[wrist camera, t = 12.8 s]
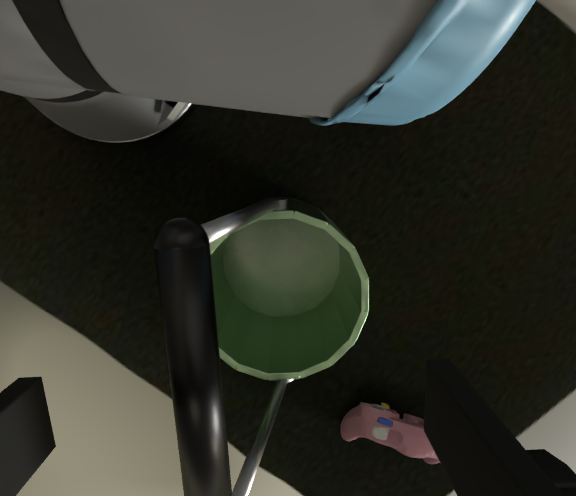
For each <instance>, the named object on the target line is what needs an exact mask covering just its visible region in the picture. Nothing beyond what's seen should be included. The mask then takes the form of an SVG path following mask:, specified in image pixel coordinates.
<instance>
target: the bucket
mask: <svg viewBox="0 0 576 496" xmlns="http://www.w3.org/2000/svg"><path fill="white" fill-rule="evenodd" d="M154 252H155V260H156V268H157V277H158V285H159V293H160V301H161V309H162V317H163V326H164V334H165V342H166V350H167V358H168V367H169V375H170V383H171V391H172V399H173V407H174V416H175V423H176V431H177V440H178V449H179V457H180V463H181V464H180V465H181V473H182V481H183V490H184V496H248V494H249V491H250V489H251V486H252V483H253V480H254V477H255V474H256V472H257V469H258V466H259V463H260V460H261V457H262V454H263V451H264V449H265V446H266V443H267V440H268V437H269V434H270V431H271V428H272V426H273V423H274V420H275V417H276V414H277V411H278V408H279V405H280V403H281V400H282V397H283V394H284V391H285V388H286V385H287V383H289V382H291V381H293V380H294V379H300V377H301V378H304V377H306V376H309V375H311V374H313V373H316V372H318V371H321V370H323V369H325V368H328V367H330V366H331V365H333V364H334V363H335V362H336V361H337V360H338V359H339V358H340V357H341V356H342V355H343V354H344V353H345V352H346V351H347V350H348V349H350V348H351V347H352V346H353V345H354V344H355V342H356V340H357V338H358V336H359V334H360V331H361V329H362V327H363V324H364V322H365V320H366V318H367V315H368V312H369V279H368V275H367V273H366V271H365V268H364V266H363V264H362V262H361V259H360V257H359V255H358V252H357V250H356V248H355V247H354V245H353V244H352V243H351V242H350V241H349V240H348V238H347V237H346V236H345V235H344V234H343V233H342V231H341V230H340V229H339V228H338V227H337V226H336V224H335V223H334V222H333V221H332V220H331V219H330V218H329V217H327V216H326V215H325V214H324V213H323V212H322V211H321V210H320V209H319V208H318V207H317V206H315V205H313V204H310V203H307V202H304V201H302V200H299V199H296V198H294V197H292V198H291V197H272V198H266V199H265V198H264V199H262V200H260V201H258V202H256V203H254V204H252V205H250V206H248V207H245V208H243V209H241V210H238V211H236V212H233V213H230V214H228V215H225V216H222V217H220V218H217V219H215V220H212V221H209V222H207V223H204V224H202V225H200V224H199V223H197V222H196V221H194V220H191V219H188V218H175V219H172V220H169V221H167V222H166V223H164V224H163V225H162V226H161V227H160V228H159V230H158V231H157V233H156V235H155V239H154ZM220 358H221V359H223V360H224V361H225V362H226V363H228V364H229V365H230V366H231V367H233V368H234V369H236V370H237V371H240V372H243V373H246V374H250V375H253V376H256V377H259V378H262V379H265V380H267V378H268V380H276V381H277V382H276V384H275V387H274V389H273V392H272V394H271V397H270V399H269V402H268V404H267V407H266V409H265V412H264V414H263V417H262V419H261V422H260V424H259V427H258V429H257V432H256V434H255V437H254V439H253V442H252V444H251V447H250V449H249V452H248V454H247V457H246V459H245V462H244V464H243V467H242V469H241V472H240V474H239V477H238V479H237V482H236V484H235V487H234V489H233V492H232V489H231V480H230V479H231V478H230V466H229V455H228V444H227V433H226V422H225V411H224V399H223V388H222V377H221V366H220Z"/></svg>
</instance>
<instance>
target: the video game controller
mask: <svg viewBox="0 0 576 496" xmlns="http://www.w3.org/2000/svg"><path fill="white" fill-rule="evenodd" d="M340 429H341V436H342V438H343V439H344V440H346V441H352V440H354V439H356V438H359V437H365V438H368V439H371V440H373V441H375V442H378V443H380V444H383V445H386V446H390V447H392V448H395V449H396V450H398V451H399V452H400V453H402V454H404V455H406V456H409V457H412V458H423V459H424V461H425V462H426V463H429V464H436V463H439V462H440V461H439V459H438V457H437V455H436V453H435V451H434V450H433V448H432V446H431V444H430V442H429V440H428V438H427V436H426V434H425V432H424V419H422V418H419V417H416V416H413V415H409V414H405V413H404V415H403V419H400V418H399V414H398V413H397V412H396V411H394V410H392V409H389V405H388V404H386V403H381V406H380V405H377V404H368V403H363V402H360V405H358V406H356V407H354V408H353V409H351V410H350V411H349V412H348V413H347V414H346V415H345V416H344V418H343V420H342V422H341V428H340Z"/></svg>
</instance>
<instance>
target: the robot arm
mask: <svg viewBox="0 0 576 496" xmlns="http://www.w3.org/2000/svg"><path fill="white" fill-rule="evenodd" d="M535 1H536V0H0V90H2V91H5V92H9V93H13V94H16V95H20V96H23V97H25V98H26V99H27V100H28V101H29V102H30V103H31V104H33V105H34V106H35V107H36V108H37V109H38V110H39V111H40V112H41V113H43V114H44V115H45V116H46V117H48V118H49V119H50V120H51V121H53V122H54V123H56V124H57V125H59V126H60V127H62V128H64V129H66V130H68V131H69V132H72V133H74V134H76V135H79V136H81V137H85V138H88V139H91V140H96V141H102V142H109V143H118V144H130V143H139V142H144V141H148V140H151V139H154V138H157V137H159V136H161V135H164V134H165V133H167V132H169V131H171V130H172V129H173V128H175V127H176V126H178V125H179V124H180V123H181V122H182V121H183V120H185V119H186V118H187V117H188V115H189V114H190V113H191V112H192V111H193V109H194V108H195V107H196V105H197V104H199V105H207V106H216V107H224V108H232V109H240V110H249V111H257V112H265V113H273V114H281V115H290V116H298V117H306V118H308V119H309V121H310V122H311V123H314V124H317V125H331V124H336V123H340V122H353V123H366V124H380V125H401V124H406V123H409V122H412V121H414V120H415V119H418V118H422V117H425V116H426V115H428V114H432V113H434V112H436V111H438V110H439V109H441V108H442V107H444V106H445V105H446V104H448V103H449V102H450V101H452V100H453V99H454V98H455V97H456V96H458V95H459V94H460V93H461V92H462V91H463V90H464V89H466V88H467V87H468V86H469V85H470V84H471V83H472V82H473V81H474V80H475V79H476V78H477V77H478V76H479V75H480V74H481V72H482V71H483V70H484V69H485V68H486V67H487V66H488V65H489V64H490V62H491V61H492V60H493V59H494V58H495V57H496V55H497V54H498V53H499V51H500V50H501V49H502V48H503V46H504V45H505V44H506V42H507V41H508V40H509V38H510V37H511V36H512V34H513V33H514V32H515V30H516V29H517V27H518V26H519V24H520V23H521V22H522V20H523V19H524V17H525V16H526V14H527V13H528V11H529V10H530V8H531V7H532V5H533V4H534V2H535ZM424 432H425V434H426V436H427V438H428V440H429V442H430V444H431V446H432V448H433V450H434V451H435V453H436V455H437V457H438V459H439V461H440V463H441V465H442V467H443V469H444V471H445V473H446V475H447V476H448V478H449V480H450V482H451V484H452V486H453V488H454V490H455V492H456V494H457V496H576V474H575V473H574V472H573V471H572V470H571V469H570V467H569V466H568V465H567V464H565V463H564V462H562V461H561V460H559V459H558V458H556V457H555V456H553V455H552V454H550V453H549V452H547V451H546V450H544V449H543V450H542V449H539V450H525V449H524V448H523V446H521V444H520V443H519V442H518V440H517V439H516V438H515V437H514V436H513V435H512V433H511V432H510V431H509V430H508V429H507V427H506V426H505V425H504V424H503V423H502V421H501V420H500V419H499V418H498V417H497V416H496V414H495V413H494V412H493V411H492V410H491V408H490V407H489V406H488V405H487V404H486V402H485V401H484V400H483V399H482V398H481V397H480V395H479V394H478V393H477V392H476V391H475V389H474V388H473V387H472V386H471V385H470V383H469V382H468V381H467V380H466V379H465V378H464V376H463V375H462V374H461V373H460V372H459V370H458V369H457V368H456V367H455V366H454V364H453V363H452V362H451V361H450V360H449V359H443V360H427V362H426V386H425V411H424ZM55 447H56V445H55V440H54V436H53V431H52V426H51V421H50V416H49V411H48V406H47V402H46V397H45V392H44V387H43V382H42V378H41V377H28V378H27V377H26V378H18V379H17V380H16V381H14V382H13V383H12V384H11V385H9V386H8V387H7V388H6V389H4V390H3V391H2V392H1V393H0V496H16V495H17V494H18V492H19V491H20V490H21V488H22V487H23V486H24V485H25V484H26V482H27V481H28V480H29V478H31V476H32V475H33V474H34V473H35V471H36V470H37V469H38V468H39V466H40V465H41V464H42V463H43V462H44V460H45V459H46V458H47V457H48V455H49V454H50V453H51V452H52V450H53V449H54V448H55Z"/></svg>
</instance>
